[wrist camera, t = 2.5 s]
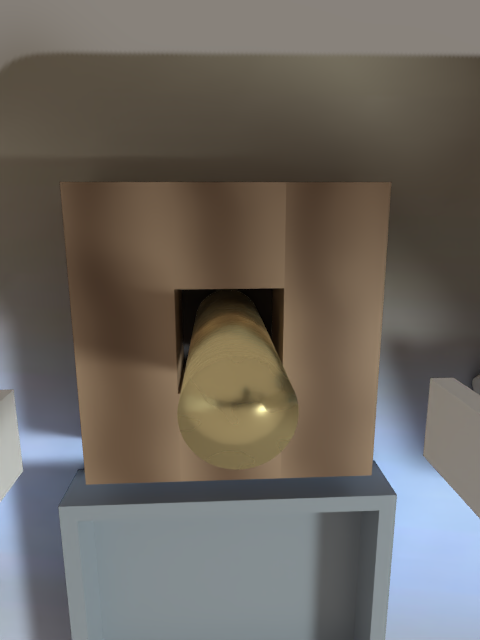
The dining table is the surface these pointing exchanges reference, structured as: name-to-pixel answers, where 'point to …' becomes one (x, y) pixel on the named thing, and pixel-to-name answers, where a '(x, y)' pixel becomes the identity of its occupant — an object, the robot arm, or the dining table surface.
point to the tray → (229, 558)
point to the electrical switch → (476, 384)
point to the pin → (234, 387)
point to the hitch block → (224, 273)
